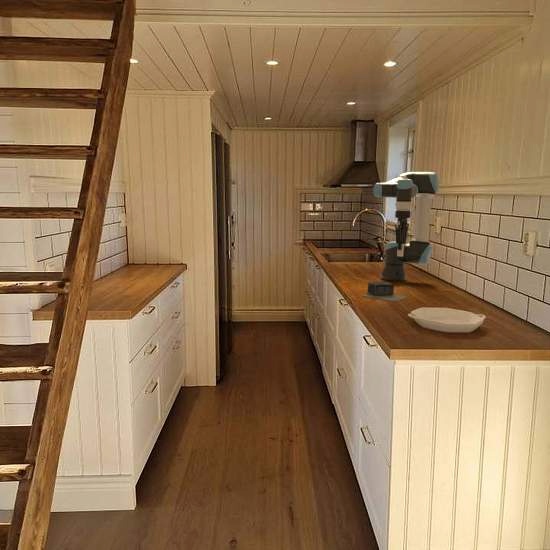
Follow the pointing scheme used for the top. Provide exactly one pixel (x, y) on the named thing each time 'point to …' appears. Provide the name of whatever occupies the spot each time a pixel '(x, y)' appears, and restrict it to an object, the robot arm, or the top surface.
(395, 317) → the top surface
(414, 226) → the robot arm
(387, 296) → the mat
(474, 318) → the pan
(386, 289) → the box
